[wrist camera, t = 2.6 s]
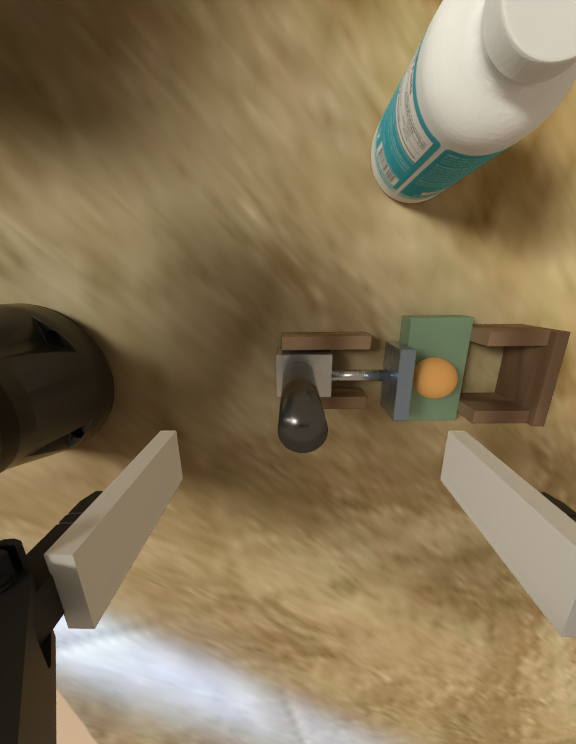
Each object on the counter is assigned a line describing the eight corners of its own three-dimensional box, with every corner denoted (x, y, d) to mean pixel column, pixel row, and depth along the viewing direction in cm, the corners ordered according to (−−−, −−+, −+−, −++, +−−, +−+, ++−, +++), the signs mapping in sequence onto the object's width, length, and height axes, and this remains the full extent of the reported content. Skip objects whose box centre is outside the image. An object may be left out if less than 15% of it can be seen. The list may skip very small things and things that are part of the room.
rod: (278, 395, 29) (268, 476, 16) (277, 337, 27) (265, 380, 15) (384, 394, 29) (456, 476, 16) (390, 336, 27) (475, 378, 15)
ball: (402, 390, 27) (419, 405, 23) (407, 353, 26) (425, 363, 22) (440, 389, 27) (463, 405, 23) (446, 353, 25) (470, 363, 22)
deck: (392, 411, 29) (399, 420, 28) (402, 315, 27) (411, 317, 25) (444, 411, 29) (455, 420, 27) (460, 315, 26) (473, 317, 25)
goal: (446, 403, 29) (476, 426, 24) (459, 324, 27) (495, 332, 22) (502, 403, 29) (543, 426, 24) (520, 324, 27) (570, 332, 22)
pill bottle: (478, 129, 22) (738, -92, 9) (426, 222, 24) (580, 146, 11) (398, 78, 21) (563, -243, 8) (350, 179, 23) (425, 43, 10)
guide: (283, 399, 29) (282, 408, 27) (282, 332, 27) (281, 336, 25) (360, 398, 29) (365, 408, 27) (364, 331, 27) (371, 336, 25)
